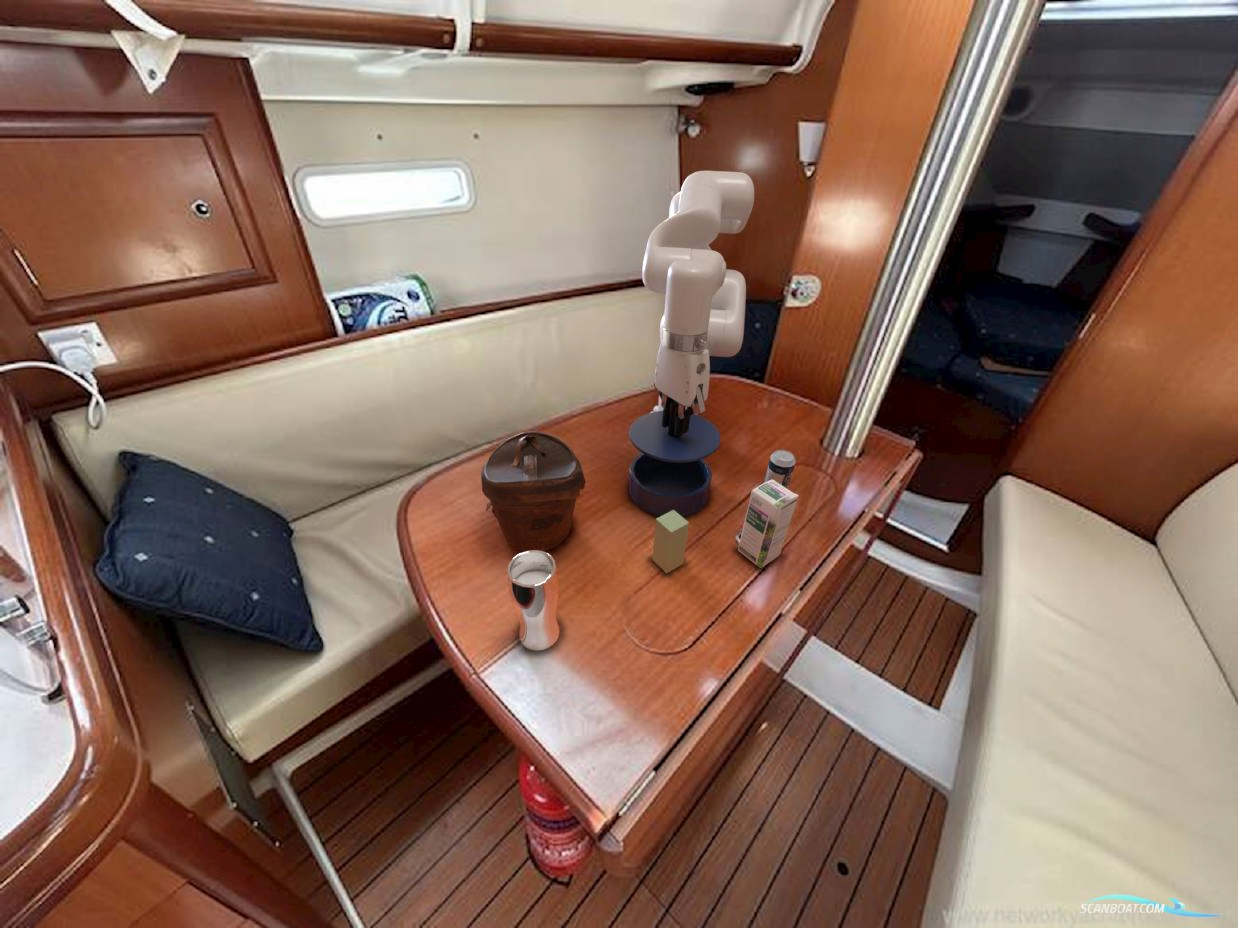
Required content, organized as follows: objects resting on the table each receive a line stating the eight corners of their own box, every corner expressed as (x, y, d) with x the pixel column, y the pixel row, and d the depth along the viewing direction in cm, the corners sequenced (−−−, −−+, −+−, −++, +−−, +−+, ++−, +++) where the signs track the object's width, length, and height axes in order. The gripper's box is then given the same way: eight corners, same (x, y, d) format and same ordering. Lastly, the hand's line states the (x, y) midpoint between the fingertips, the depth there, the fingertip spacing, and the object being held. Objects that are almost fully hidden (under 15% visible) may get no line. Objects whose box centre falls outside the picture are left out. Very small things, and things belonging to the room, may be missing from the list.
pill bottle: (783, 512, 101) (797, 464, 94) (759, 508, 102) (771, 460, 95) (782, 497, 105) (795, 450, 98) (759, 493, 106) (770, 446, 99)
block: (652, 559, 90) (655, 518, 84) (668, 550, 92) (673, 509, 86) (666, 573, 88) (671, 532, 82) (683, 563, 90) (689, 522, 84)
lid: (611, 432, 99) (611, 397, 95) (678, 407, 108) (681, 374, 103) (669, 477, 88) (672, 440, 83) (738, 445, 96) (745, 410, 92)
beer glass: (518, 615, 80) (508, 549, 71) (562, 613, 80) (557, 547, 72) (514, 655, 74) (503, 588, 65) (562, 652, 75) (557, 586, 66)
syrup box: (735, 550, 92) (750, 489, 84) (757, 537, 95) (772, 476, 87) (760, 569, 89) (777, 508, 80) (781, 555, 92) (800, 494, 83)
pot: (613, 484, 107) (613, 464, 104) (672, 458, 115) (675, 439, 112) (663, 529, 96) (665, 508, 93) (725, 497, 105) (729, 476, 101)
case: (542, 483, 107) (536, 410, 96) (606, 531, 96) (607, 455, 85) (468, 522, 97) (451, 446, 86) (530, 581, 85) (520, 502, 75)
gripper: (734, 349, 82) (719, 442, 93) (670, 319, 93) (662, 406, 104) (701, 360, 79) (689, 455, 90) (637, 327, 89) (633, 416, 100)
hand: (675, 428), depth 97 cm, fingers closed on lid, 2 cm apart
